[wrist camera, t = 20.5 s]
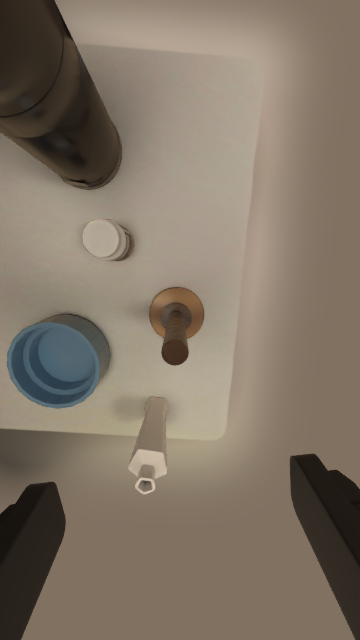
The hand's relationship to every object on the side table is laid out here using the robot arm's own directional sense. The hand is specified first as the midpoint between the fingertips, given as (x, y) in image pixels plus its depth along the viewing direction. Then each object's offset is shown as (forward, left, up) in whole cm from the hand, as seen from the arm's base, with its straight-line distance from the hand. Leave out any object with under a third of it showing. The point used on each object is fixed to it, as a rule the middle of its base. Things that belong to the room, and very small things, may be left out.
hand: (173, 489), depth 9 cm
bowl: (+4, -17, -30) cm, 35 cm away
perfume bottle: (+15, -5, -30) cm, 34 cm away
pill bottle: (-11, -7, -30) cm, 33 cm away
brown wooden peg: (0, 0, -29) cm, 29 cm away
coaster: (0, 0, -30) cm, 30 cm away
